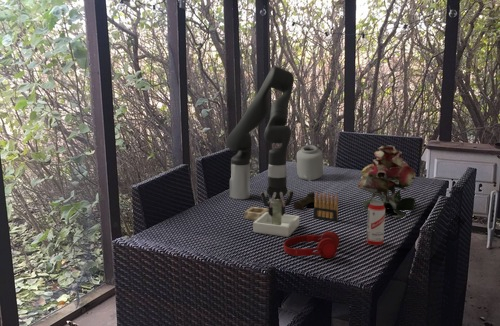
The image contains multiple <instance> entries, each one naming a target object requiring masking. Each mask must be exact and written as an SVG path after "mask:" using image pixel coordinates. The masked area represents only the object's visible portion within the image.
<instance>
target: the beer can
mask: <svg viewBox="0 0 500 326" xmlns="http://www.w3.org/2000/svg"><path fill="white" fill-rule="evenodd" d="M385 213H386V211H385V207H384V203H382V202H377V201H374V202H370V205H369V207H368V210H367V221H366V222H367V223H366V239H365V240H366V243H367V244H368V245H369V244H370V245H369V246H371V245H374V246H373V247H378V246H377V245H380V246H382V245H383V244H384V237H385V223H386V221H385V218H386V215H385Z"/></svg>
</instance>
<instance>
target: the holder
mask: <svg viewBox="0 0 500 326" xmlns="http://www.w3.org/2000/svg"><path fill="white" fill-rule="evenodd" d="M265 212H268V208H267V207H257V206H250V207H249V208H248V209H247V210H245V211H244V212H243V213H244V214H243V216H244V217H243V219H245V220H252V221H256V220H257V219H258V218H259V217H261V216H262V215H263V214H264V213H265Z"/></svg>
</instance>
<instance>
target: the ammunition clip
mask: <svg viewBox="0 0 500 326" xmlns="http://www.w3.org/2000/svg"><path fill="white" fill-rule="evenodd" d="M338 198H339V197H338V194H335V197H334V194H333V193H331V195H330V193H327V195H326V192H324V193H323V195H322V192H321V191H320V193H318V191H316V192H315V198H314V208H313V219H315V220H316V219H317V220H321V221H328V222H335V223H336V222H339V199H338Z"/></svg>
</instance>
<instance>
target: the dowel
mask: <svg viewBox="0 0 500 326" xmlns="http://www.w3.org/2000/svg"><path fill="white" fill-rule="evenodd" d="M272 208H273V216H272V224H273V225H281V222H282V202H281V200H280V199H276V200H274V203H273V206H272Z"/></svg>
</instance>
